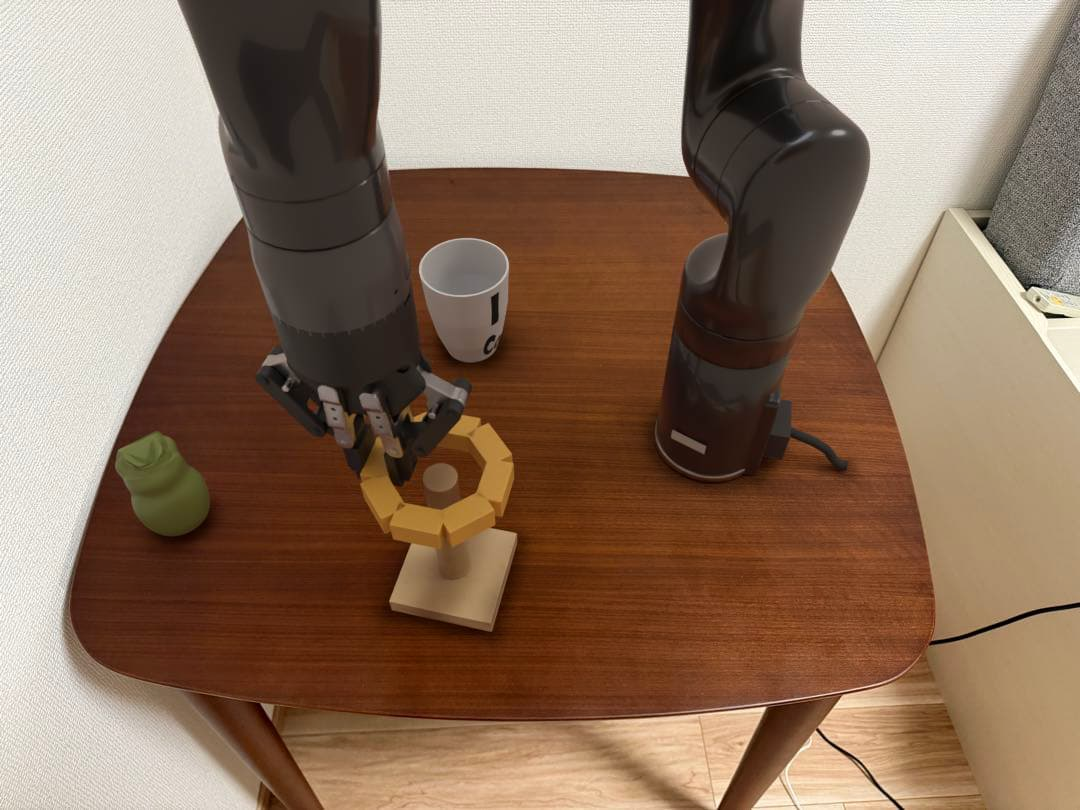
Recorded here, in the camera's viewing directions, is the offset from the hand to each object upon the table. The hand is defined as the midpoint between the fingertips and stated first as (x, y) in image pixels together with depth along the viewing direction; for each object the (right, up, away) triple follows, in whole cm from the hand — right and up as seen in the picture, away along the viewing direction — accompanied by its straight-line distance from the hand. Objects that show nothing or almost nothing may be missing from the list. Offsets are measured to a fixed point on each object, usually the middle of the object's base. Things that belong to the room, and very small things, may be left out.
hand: (385, 472), depth 56 cm
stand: (+4, -9, +9) cm, 13 cm away
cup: (+4, +11, +26) cm, 28 cm away
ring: (+4, -1, -1) cm, 4 cm away
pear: (-19, -5, +13) cm, 24 cm away
